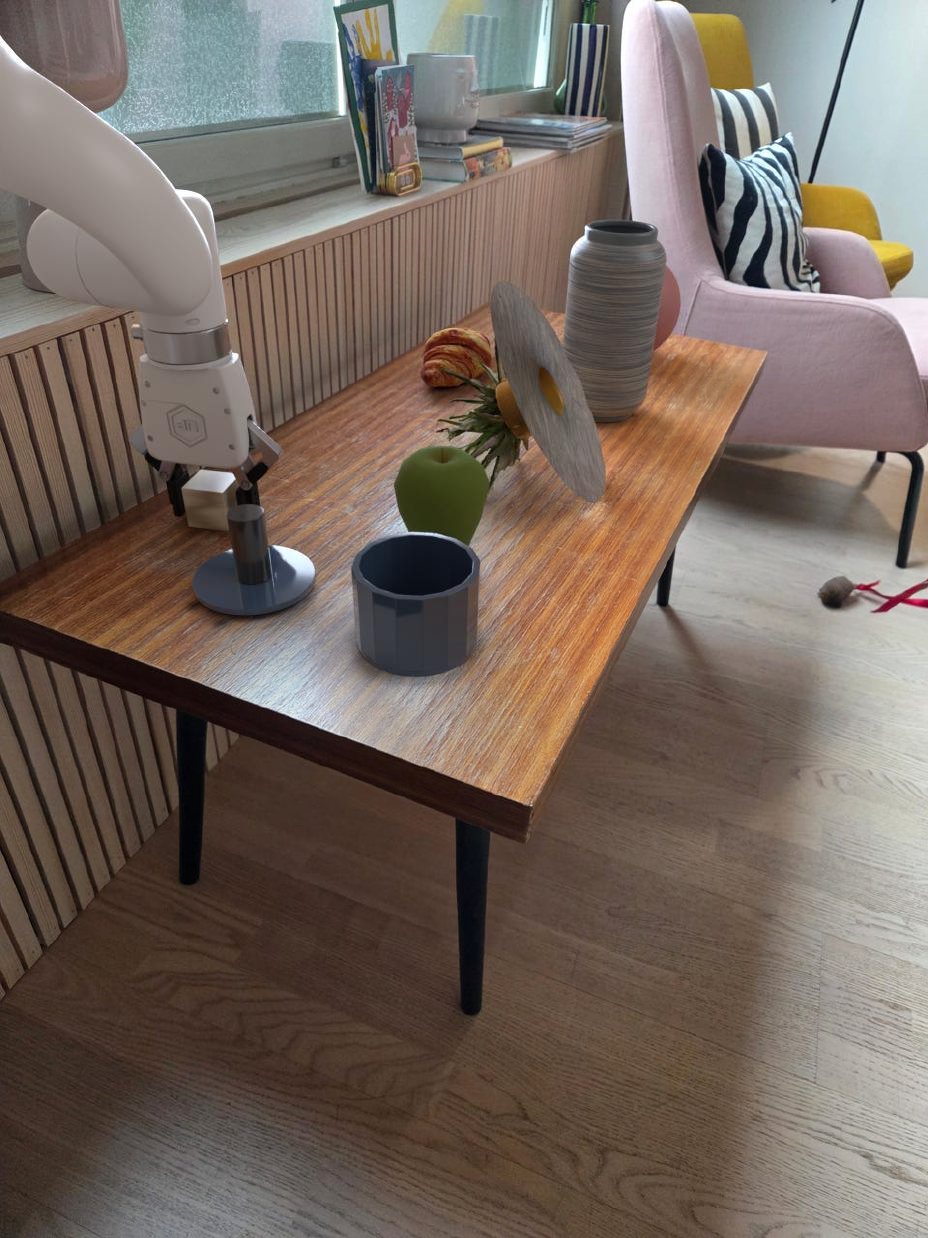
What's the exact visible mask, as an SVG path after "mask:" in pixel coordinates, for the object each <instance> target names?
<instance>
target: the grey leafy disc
mask: <svg viewBox="0 0 928 1238" xmlns="http://www.w3.org/2000/svg"><path fill="white" fill-rule="evenodd" d="M491 290H492V291H491V294H490V305H489V306H490V307H489V308H490V309H489V310H490V317H491V325H492V331H493V336H494V338H493V341H494V358H495V364H496V365H495V366H496V372H495V371H494V370H493V369H491V367H490V368H489V367H487V366H486V365H484V364H483V363H482V362H481V361H479V360H478V359H477V358H476V357H473V358H474V359H475V360H476V361H477V363H478V364H480V367H482V368H484V369H485V370H486V371H485V372H486V373H487V374H488V377H489V378H490V380H491V381H492V383H493V384H494V385H495V386H493V385H492V384H491V383H489V384H488V385H485V384H484V383H483V382H481V381H480V380H477V379H469V378H468V377H465V376H463V375H460V374H458V373H456V372H453V371H452V370H448V369H441V368H440V370H441V371H442V372H445V373H446V374H448V375H452V376H455V377H457V378H459V379H460V380H462V381H464V382H465V384H467V385H468V386H471V387H472V388H474V389H475V390H476V391H478V392H480V394H481V395H480V394H473V395H472V396H473V397H476V398H478V399H470V398H469V399H467V398H453V399H451V400H449V403H454V402H457V403H459V402H461V403H465V404H475V405H480V406H477V407H475V408H473V411H468V413H467V414H461V415H453V413H450V415H449V417H448V419H447V418H445V419H444V418H441V417H440V418H439V419H438V420H436V423H435V425H437V426H438V425H439V423H440V422H443V423H447V424H448V425H453V426H455V427H445V428H441V429H437V430H436V431H435V434H439V433H440V434H441V433H444V432H446V433H447V437H446V439H447V441H448V442H451V441H452V440H453V439H454V438H457V437H459V436H461V435H463V434H464V433H466V432H467V433H475V434H476V433H477V434H480V435H479V436H478V438H476V439H475V440H474V441H472V442H470V443H468V444H466V445H464V446H462V447H458V448H459V449H462V450H464V451H465V452H467V453H468V454H470V455H471V456H472V457H474V458H475V459H476V460H477V458H478V457H480V456H481V455H483V454H484V453H485V452H487V453H486V455H485V456H484V458H483V459H482V460H481V462H480V463H481V464H482V466H483V467H484V468H485V470H486V469H487V468H488V467H489V466H490V464H491V463H492V461H493V460H494V459H495V464H494V466H493V469H492V473H491V476H490V480H489V483H490V486H489V490H488V494H487V495H489V494H490V493H491V492H492V491H493V490H494V483H495V481H496V480H497V478H498V476H499V474H500V473H501V471H504V472H505V471H506V470H507V468H509V467H513V466H514V465H515V464H516V462H517V461H519V462H520V461H521V458H520V456H521V455H520V453H521V452H520V451H521V443H522V444H523V446H524V448H525V450H526V451H529V439H530V438H531V437H532V439H533V441H534V442H535V443H536V444H537V446H538V448H539V449H540V451H541V452H542V453H543V455H544V457H545V458H546V460H547V461H548V463H549V464H550V465H551V467H552V469H553V470H554V472H555V473H556V474H557V476H559V478H560V479H561V481H563V482H564V484H565V485H566V486H567V487H568V488H569V489H570V491H572V492H574V493H575V494H576V495H577V496H579V497H580V498H581V499H583V500H585V501H587V502H589V503H597V502H599V501H600V500H601V499H602V497H603V496H604V493H605V489H606V484H607V483H606V482H607V471H606V464H605V459H604V454H603V450H602V444H601V442H602V441H601V438H600V434H599V431H598V428H597V424H596V422H595V421H594V418H593V415H592V412H591V411H590V409H589V407H588V405H587V402H586V398H585V395H584V390H583V387H582V385H581V382H580V380H579V378H578V376H577V374H576V372H575V370H574V369H573V367H572V365H571V364H570V362H569V360H568V358H567V356H566V353H565V351H564V349H563V347H562V345H563V343H562V342H561V340H560V339H559V337H558V335H557V334H556V331H555V330H554V328H553V326H552V325H551V323H550V322H549V320H548V318H547V317H546V316H545V314H544V313H543V312H542V311H541V309H540V308H539V306H537V304H535V302H534V301H533V300H532V298H530V297H529V295H527V294H526V293H525V292H524V291H523V290H522V289H521V288H520V287H518V286H517V285H515V284H513V283H512V282H510V281H507V280H499V281H498V282H496V283H495V284H494V285H493V287H492V289H491ZM457 419H458V421H455V420H457Z"/></svg>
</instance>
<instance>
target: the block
mask: <svg viewBox="0 0 928 1238" xmlns="http://www.w3.org/2000/svg"><path fill="white" fill-rule="evenodd" d="M238 487H239V484H238V482H237V480H236V479H235V477H234V475H233V473H232V472H227V471H217V470H209V469H199V470H198V472H196V473H195V474H194V475H193V476H192V477H191V478H190V480H189V481H188V482H187V483H186V484H185V485H184V486H183V487H182V488H181V489H182V495H183V500H184V505H185V511H186V513H185V517H186V521H187V525H188V527H189V528H195V529H203V530H204V529H205V530H213V531H219V532H220V531H221V532H228V533H229V527H228V520H227V512H228V511H229V510H230V509H231V508H233V507H235V506H237V501H236V494H235V492H236V489H237V488H238Z"/></svg>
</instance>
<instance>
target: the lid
mask: <svg viewBox="0 0 928 1238" xmlns="http://www.w3.org/2000/svg"><path fill="white" fill-rule="evenodd" d="M227 520H228V527H229V532H228V533H229V539H230V545H231V549H228V550H225V551H222V552H221V553H218V554H216V555H214V556H212V557H210V558H209V559H208V560H206V561H204V562H203V563H202V564H201V565H200V566H199V567H198V568H197V570H196V571H195V573H194V574H193V577H192V581H191V585H192V591H193V595H194V596H195V598H196V599H197V601H199V602H200V604H202V605H203V606H204V607H206V608H208V609H210V610H212V611H215V612H217V613H221V614H225V615H226V614H227V615H230V616H231V615H233V616H256V615H265V614H269V613H274V612H277V611H280V610H284V609H287V608H289V607H290V606H293V605H295V604H296V603H298V602H300V601H301V600H303V599H304V598H305V597H306V596H307V595H308V594H310V592H311V591H312V589H313V588H314V586H315V583H316V581H317V580H316V579H317V575H316V567H315V565H314V563H313V561H312V560H311V559H310V558H309V557H308V556H307V555H306V554H304V553H303V552H300V551H298V550H296V549H293V548H291V547H287V546H282V545H275V544H269V537H268V530H267V521H266V513H265V510H264V508H263V507H262V506H261V505H260V506H258V505H253V504H243V505H238V506H235V507H233V508H231V509H230V510H229V511H228V512H227Z"/></svg>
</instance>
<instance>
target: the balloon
mask: <svg viewBox="0 0 928 1238" xmlns="http://www.w3.org/2000/svg"><path fill="white" fill-rule="evenodd" d="M680 291H681V290H680V287H679V284H678V281H677V278H676V277H675V274H674V273H673V272H672V270H671V269H670V267H669V266H668V265H667V264H666V268H665V275H664V281H663V288H662V295H661V301H660V308H659V315H658V321H657V328H656V335H655V341H654V348H653V352H654V351H656V350H657V349H659V348H660V347H661V346H662V345H663V344H664V343H665V342H666V341H667V340H668V339H669V338H670V336H671V335H672V333H673V331H674V330H675V328H676V325H677V323H678V320H679V316H680V313H681V302H682V301H681V292H680Z"/></svg>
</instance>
